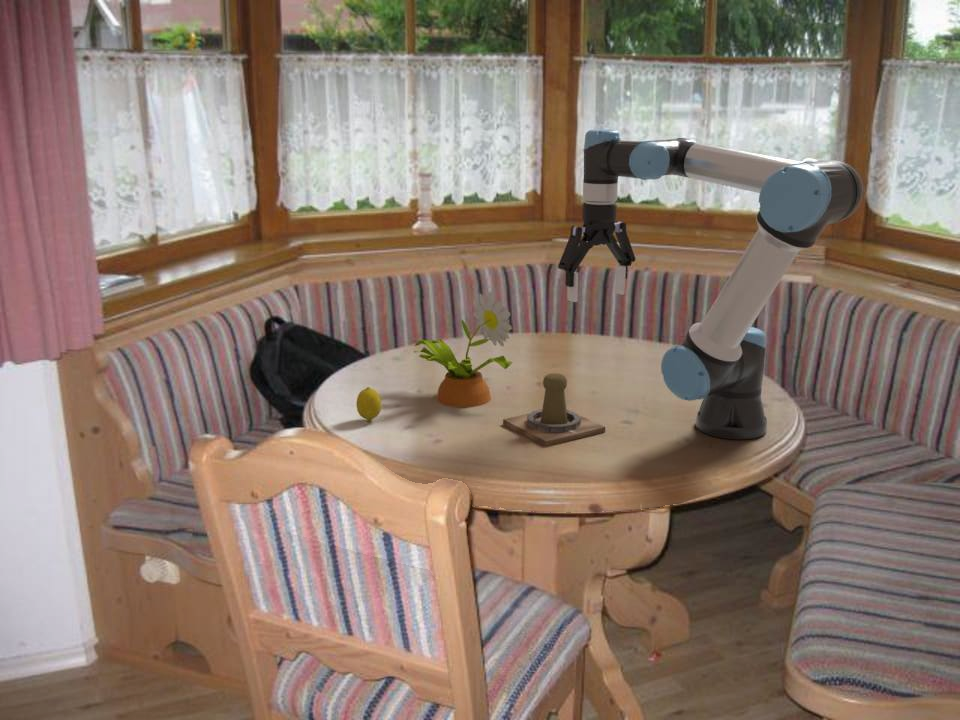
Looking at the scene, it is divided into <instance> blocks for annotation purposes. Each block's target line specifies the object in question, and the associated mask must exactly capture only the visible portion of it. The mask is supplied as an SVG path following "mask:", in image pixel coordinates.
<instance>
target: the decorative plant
mask: <svg viewBox="0 0 960 720" xmlns="http://www.w3.org/2000/svg"><path fill="white" fill-rule="evenodd" d="M478 297H479V299H478V300H477V301H476V300H472V304H473V307H474V308H473V310H474V312H473V313H472V315H473V317H474V318H476V322H477V325H476V329H475V331H474V333H473V334H471V333H470V330H469V328H468V326H467V324H466V323H465V321H464V320H463V319H461V327H462V329H463V331H464V333H465V335H466V337H467V338H468V340H469V341H468V344H467V349H466V352H465V359H462V360H461V361H460V362H459V361H458V360H457V358H456V356H455V355H454V352H453V350H452V349H451V347H450V345H448V344H446V343H445V342H444V341H443V339H440V338H439V339H435V340H433V339H432V338H430V340H426V339H420V340H417V341H416V342H415V344H414V347H417V346H420V345H425V346H427V348H426V347H425V346H423V348H422V349H421V350H419V351H418V350H413V354H415V353H420V354H419V356H418V358H422V359H425V360H426V361H429V362H431V361H432V362H436V363H438V364H440V365H441V366H444V368H445V369H446V370H447V372H446V373H445V375H444V379H443V380H442V381H441V383H440V384H439V386H438V389H437V395H436V397H435V398H436V402H437V403H439V404H441V405H442V406H443V405H444V406H447V407H451V408H473V407H474V408H475V407H479V406H483V405H486V404H488V403H489V402H491V401H492V396H491V393H490V388H489V386H488V383H487V382H486V380H485V379H484V378H483V374H482V372H480V371H479V370H481V369H483V368H484V367H485V366H488V365H489V364H491V363H493V362H495V363H497V364H498V365H499V366H501V367H502V368H504V370H507V369H508V368H509V367H510V366H511V365H512V364H513V362H512V361H510V360H507V359H506V357H505V356H504V355H500V356H499V357H498V356H496V357H490V358H489V359H487V360H486V361H484V362H483V363H481V364H480V365H478V366H477V367H476V368H474V369H473V368H472V367H473V364H472V362H471V361H473V359H472V358H470V357H469V356H468V355H469V351H470V347H477V346H481V345H483V344H485V343H488V342H489V341H491V342H492V344H493V346H497V343H498V344H499V345H500V346H501V347H504V344H505V343H504V342H507V340H508V339H510V336H509V334H508V333H510V330H513V327H512V325H511V324H510V320H509V319H508V318H509V317H510V316H511V312H510V311H507V310H506V307H505V306H504V301H499V300H498V299H496V300H493V295H492V292H491V291H489V292H488V293H487V294H485V295H483V294H482V293H479V296H478ZM478 331H481V332H482V335H483V338H482V339H478V340H476V341H474V342H472V339H473V338H474V337H475V336H476V334H477V332H478ZM471 335H472V336H471ZM423 353H424V354H423Z"/></svg>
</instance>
